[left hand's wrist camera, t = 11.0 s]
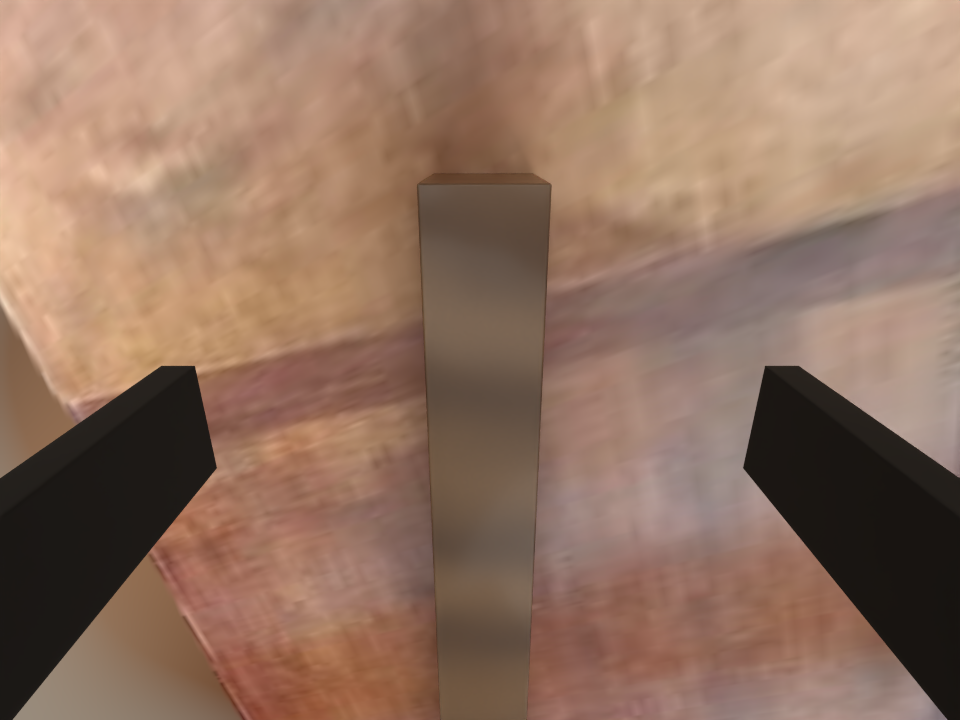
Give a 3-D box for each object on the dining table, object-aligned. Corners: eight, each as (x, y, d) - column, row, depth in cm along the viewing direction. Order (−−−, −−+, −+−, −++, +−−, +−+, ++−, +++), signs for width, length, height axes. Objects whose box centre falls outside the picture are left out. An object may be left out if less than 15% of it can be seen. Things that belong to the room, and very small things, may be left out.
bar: (432, 173, 29) (416, 183, 22) (534, 173, 29) (551, 183, 22) (456, 894, 56) (452, 1004, 49) (509, 894, 56) (513, 1005, 49)
